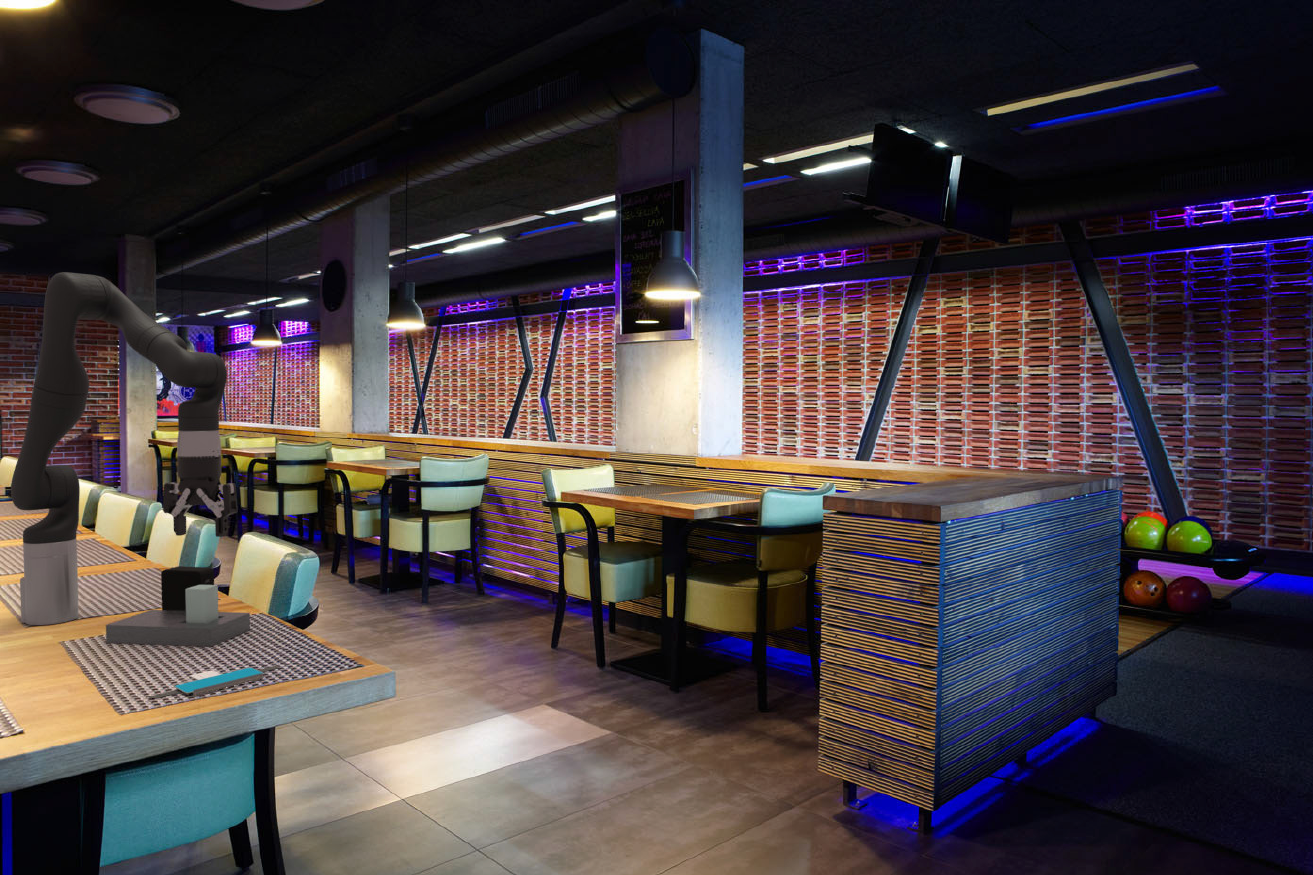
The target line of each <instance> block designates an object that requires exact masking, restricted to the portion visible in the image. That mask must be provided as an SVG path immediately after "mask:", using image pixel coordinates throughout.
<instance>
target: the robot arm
mask: <svg viewBox="0 0 1313 875" xmlns="http://www.w3.org/2000/svg"><path fill="white" fill-rule="evenodd" d="M43 308H44V309H43V321H42V322H43V323H42V324H43V325H42V339H41V345H40V351H39V352H40V353H39V359H38V365H37V370H36V375H35V379H34V381H33V382H34V383H33V387H32V394H31V399H30V400H31V401H30V406H29V412H28V413H29V414H28V419H27V424H26V429H25V432H24V438H23V441H22V444H21V448H20V451H19V455H18V458H17V461H16V465H15V467H14V471H13V474H12V478H11V485H10V497H11V500H12V503H13V505H14V507H15V508H17V509H19V510H21V511H39V510H40V511H41V510H47V509H48V513H47V515H46V516H45V517H44V518H42V519H41V520H39V521H38V522H36V523H34V524H31V525H29V526H28V527H26V528H25V529H23V532H22V550H23V551H22V552H23V554H22V555H23V556H22V557H23V577H21V578H19V591H20V593H19V595H20V623H22V624H23V623H24V624H26V625H29V626H46V625H53V624H54V625H55V624H62V623H66V622H70V621H74V620H76V619H78V618H79V617H80V615H79V613H80V612H79V611H80V609H79V579H78V578H79V576H78V575H79V574H78V547H77V546H78V544H77V543H78V542H77V531H78V527H79V522H80V497H81V496H80V491H81V490H80V480H79V476H78V473H77V472H76V469H74V468H73V467H72V466H71V465H67V464H52V465H47V464H48V461H49V458H50V456H51V453H52V452H53V450H54V449H55V447H56V446H57V445H58V443H59V442H60V441H61V440H62V439H63V438H64V437H65V436H66V435H67V434H68V433H69V432H70V431H71V430H72V429H73V428H74V427H75V425H77V423H78V422H79V421H80V420H81V418H82V416H83V415H84V413H85V411H86V406H87V400H88V396H89V392H90V391H89V390H90V379H89V375H88V373H87V371H86V367H85V366H84V364H83V362H82V361H81V358H80V357H79V354H78V352H77V348H76V329H77V326H78V321H79V320H84V321H86V320H87V321H98V320H100V321H103V322H106V323H108V324H111V325H112V326H115V327H117V328H118V329H120V331H121V332H122V334H123V337H124V339H125V341H126V343H127V344H128V345H129V347H131V349H132V350H134V352H136V353H138V354H139V355H141V356H142V357H144V358H145V359H146V360H148V361H150V362H151V363H153V364H154V365H155V366H156V367H157V368H158V370H159V372H161V373H162V374H163V375H164V377H165V378H166V379H167V380H168V381H170V382H171V383H173V384H174V385H176V386H179V387H182V388H186V389H187V388H188V389H189V388H190V389H191V388H193V389H194V392H193V394H192V398H190V399H188V400H185V401H182V402H180V404H178V408H177V424H178V426H177V427H178V428H177V429H178V431H177V432H178V434H177V442H176V448H177V450H176V451H177V452H176V455H177V457H176V458H177V459H176V460H177V477H178V478H179V483H178V482H177V481H174V482H166V483H165V484H164V483H163V484H164V485H163V501H162V502H163V506H162V512H163V513H164V514H169V515H171V516H172V518H173V532H174V533H175V536H185V535H186V534H187V515H186V513H187V512H188V511H189V509H190V508H191V507H193V506H197V505H198V506H201V507H202V506H203V507H205V506H207V508H208V509H209V510H211V512H213V514H214V515H215V516H216V518H214V526H215V537H216V538H217V537H218V538H220V537H221V538H222V537H225V536H226V535H227V533H228V531H229V524H228V521H229V516H230V515H231V516H232V515H234V514H237V513H238V511H239V510H238V509H239V507H238V494H237V484H236V483H234V482H233V483H231V482H230V483H226V484H222V483H221V480H220V479H221V476H222V442H221V436H220V435H221V434H220V418H219V417H220V416H219V415H220V414H219V412H220V406H221V403H222V400H223V396H224V393H225V387H226V384H227V380H228V370H227V365H226V363H225V361H224V360H223V359H222V357H221V356H219V355H218V354H216V353H212V352H201V351H190V350H188V345H187V343H186V341H185V340H184V339H182V338H181V337H180V336H179V335H177V334H176V333H174V331H173V332H172V331H171V330H170V329H168V328H167V327H165V326H163V325H162V324H161V323H158V322H157V321H156V320H154V319H153V318H152V317H150V316H149V315H148V314H146V313H145V312H144V311H142V310H141V308H139V307H138V305H136V304H135V303H134V302H133V301H132V300H131V299H129V298H128V297H127V296H126V295H125V294H124V293H123V292H122V291H121V290H120V289H119V288H118V287H117V286H116V285H114V284H113V283H112V282H111V281H110V280H108V279H107V278H105V277H103V276H99V275H95V274H88V273H87V274H86V273H79V272H77V273H76V272H68V271H67V272H66V271H65V272H63V271H62V272H61V271H60V272H58V273H55V274H54V275H53V276H52V277H51V278H50V280H49V281H48V284H47V287H46V290H45V296H44V305H43ZM179 493H180V496H178V495H179ZM220 494H222V496H223V497H221V496H220ZM178 497H179V499H178Z"/></svg>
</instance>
